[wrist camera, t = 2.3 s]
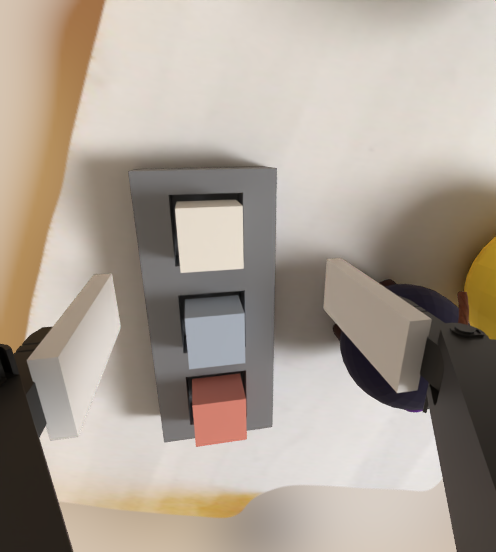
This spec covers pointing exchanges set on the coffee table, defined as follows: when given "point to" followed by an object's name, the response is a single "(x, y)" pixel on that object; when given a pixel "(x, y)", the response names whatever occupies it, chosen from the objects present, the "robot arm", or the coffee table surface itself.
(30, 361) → the robot arm
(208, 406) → the key brick
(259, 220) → the console
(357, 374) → the toy
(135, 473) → the coffee table surface
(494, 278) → the vase
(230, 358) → the key slate
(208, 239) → the key ivory
